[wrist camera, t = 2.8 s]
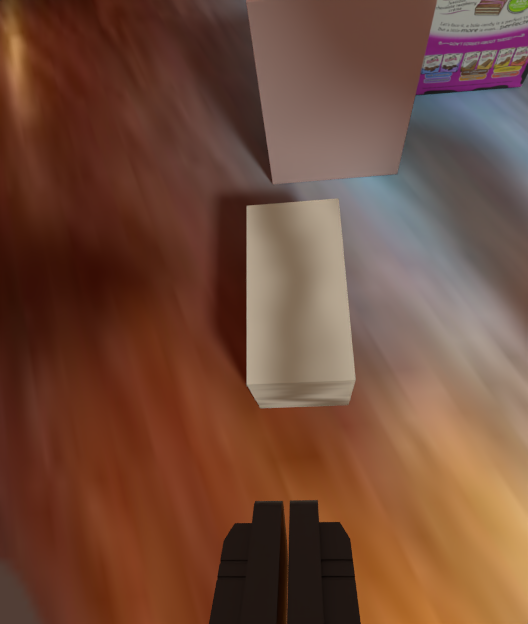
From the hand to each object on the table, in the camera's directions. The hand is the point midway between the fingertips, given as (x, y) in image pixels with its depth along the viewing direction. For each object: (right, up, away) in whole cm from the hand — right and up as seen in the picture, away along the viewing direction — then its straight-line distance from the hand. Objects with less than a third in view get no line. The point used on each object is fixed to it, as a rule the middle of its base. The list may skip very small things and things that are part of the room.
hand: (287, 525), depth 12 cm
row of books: (+6, +25, +36) cm, 44 cm away
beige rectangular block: (+2, +4, +28) cm, 28 cm away
